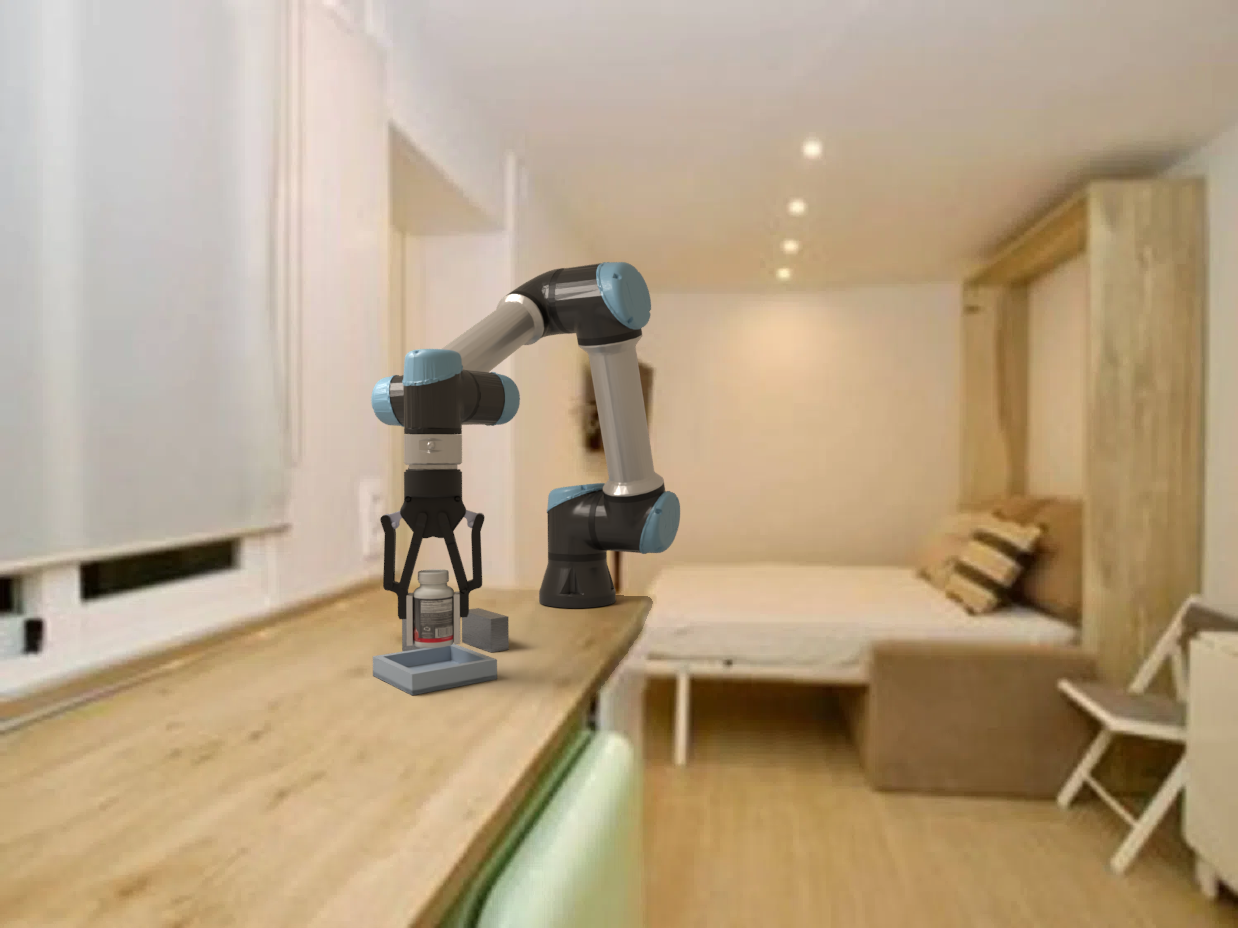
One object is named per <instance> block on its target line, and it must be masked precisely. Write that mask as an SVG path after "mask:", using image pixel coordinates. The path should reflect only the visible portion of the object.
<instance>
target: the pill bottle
mask: <svg viewBox="0 0 1238 928" xmlns="http://www.w3.org/2000/svg"><path fill="white" fill-rule="evenodd" d="M449 572H450V571H449V570H447V569H439V568H435V569H434V568H432V569H422V570H419V571H418V572H417V581H418V584H419V587H417V588H415V589H414V590H413V592H412V593H413V643H414V645H415V646H417V647H420V648H441V647H447V646H450V645H452V644H454V592H455V591H454V588H453V587H451V586H450V585H448V583H449V580H450V576H449Z"/></svg>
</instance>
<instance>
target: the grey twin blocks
mask: <svg viewBox="0 0 1238 928" xmlns="http://www.w3.org/2000/svg"><path fill="white" fill-rule="evenodd" d="M509 632H510V631H509V616H507V615H504V614H501V613H498V612H494V611H490V610H487V609H483V608H480V607H478V608H476V607H475V608H469V614H468V616H467V617H461V642H462V643H464V644H466V645H469V646H471V647H475V648H477V649H480V650H484V651H485V652H489V653H497V652H502V651H509V638H510V637H509V636H510V635H509ZM401 648H402V651H401V652H403V651H410V650H416V649H422V648H420V647H417V646H415V645H414V643H413V646H407V619H401Z"/></svg>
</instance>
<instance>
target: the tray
mask: <svg viewBox="0 0 1238 928" xmlns="http://www.w3.org/2000/svg"><path fill="white" fill-rule="evenodd" d="M372 676H373V677H375V678H377V679H379V680H381V681H382V682H384V683H387V684H389V685H391V686H392V687H394V688H397V689H398V690H400V691H402V692H404V693H407V694H409V695H410V696H417V695H422V694H426V693H427V694H428V693H432V692H437V691H438V692H439V691H444V690H448V689H452V688H459V687H463V686H469V685H473V684H480V683H483V682H489V681H494V680H498V659H497V658H494V657H492V656H489V655H486V654H483V653H480V652H478V651H474V650H472V649H469V648H467V647H464V646H462V645H460V644H454V643H453V644H452V645H450V646H447V647H441V648H422V649H416V650H410V651H403V652H402V651H398V652H391V653H386V654H379V655H373V656H372Z"/></svg>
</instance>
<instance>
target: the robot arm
mask: <svg viewBox="0 0 1238 928" xmlns="http://www.w3.org/2000/svg"><path fill="white" fill-rule="evenodd" d="M648 288H649V287H648V285H647V283H646V281H645V279H644V276H643V275H642V273H641V272H640V271H638V269H637V268H636V267H635V266H634V265H633V264H631V263H629V262H625V261H616V262H615V261H613V262H612V261H611V262H610V261H604V262H603V261H602V262H600V263H599V262H598V263H592V264H586V265H579V266H572V267H566V268H565V267H561V268H555V269H551V270H548V271H546V272H543V273H541V274H539V275H537V276H535V277H534V278H531V279H529V280H528V281H526V282H525V283H523V284H521V285H519V286H518V287H517V288H515V289H513V290H511V291H510V292H509V293H507V294H506V295H504V296H503V297H501V299H500V300H499V301H498V304H497V305H496V309H495V310H494V311H492V312H491V313H489V315H487V316H485V317H484V318H483V319H481V320H480V321H478V322H477V323H475V324H474V325H473V326H471V327H470V328H469V329H467V330H466V331H464V332H463V333H462V334H460V335H458V336H457V337H456V338H455V339H453V340H452V341H450V342H449V343H447V344H446V345H444V346H443V347H441V348H420V349H419V348H418V349H413V350H410V351H408V352H407V353H406V354H405V356H404V364H403V374H402V375H399V374H394V375H391V376H386V377H383V378H381V379H379V380H378V381H377V382H376V383H375V385H374V387H373V389H372V392H371V397H370V398H371V400H370V401H371V403H370V404H371V408H372V409H373V412H374V415H375V417H376V418H377V419H378V420H379V421H380V422H381V423H382V424H385V425H387V426H397V427H402V428H404V429H403V463H404V465H407V466H408V467H407V469H405V471H404V472H403V503H402V505H401V507H400V510H398V511H396V512H391V513H385V514H383V515H382V516H381V517H380V519H379V521H380V523H381V524H380V525H381V527H382V530H383V533H384V545H383V546H384V548H383V549H384V550H383V575H382V577H383V579H382V580H383V581H382V583H383V585H382V587H383V589H384V590H385V591H387V592H392V593H393V594H394V593H395V594H396V596H397V616H398V619H399V620H402V619H407V646H413V592H409V589H410V585H411V580H412V577H413V574H414V570H415V567H416V564H417V563H416V562H417V559H418V556H419V552H420V548H421V545H422V542H423V539H429V538H437V539H443V540H444V543H445V546H446V549H447V553H448V556H449V559H450V563H451V566H452V571H453V573H454V577H455V580H456V585H457V588H458V591H454V643H453V644H456V645H460V644H461V618H462V617H467V616H468V614H469V609H470V593H471V591H474V590H477V589H480V588H482V586H483V565H482V540H481V539H482V537H481V535H482V534H481V531H482V528H483V525H484V522H485V515H484V513H483V512H478V513H477V512H474V511H471V510H468V509H467V508H466V505H465V504H464V502H463V471H461V469H460V468H459V467H458V465H459V466H460V465H461V464H462V463H463V435H462V434H463V433H462V432H463V430H462V429H463V427H462V426H467V425H470V426H471V425H474V426H475V425H483V426H487V427H491V426H493V427H494V426H497V425H498V426H499V425H504V424H505V425H506V424H507V423H509V422H510V421H512V420H513V419H514V418H515V417H516V415H517V413H518V411H519V408H520V405H521V404H520V403H521V401H520V400H521V397H520V396H521V395H520V391H519V388H518V386H517V384H516V383H515V381H514V380H513V379H512V378H510V377H509V376H507V375H504V374H501V373H497V372H495V371H493V369H495V368H496V367H497V366H499V365H500V364H501V363H502V362H504V361H505V360H506V359H507V358H508V357H510V356H511V355H513V354H514V353H515V352H516V351H518V350H519V349H520V348H521V347H522V346H530V345H533V344H536V343H537V342H538V341H539V340H541V339H543V338H545V337H550V336H555V335H567V334H568V335H570V334H571V335H572V334H575V335H576V338H577V339H576V340H577V345H578V347H579V348H580V349H582V350H583V351H584V352H586V353H587V356H588V360H589V365H590V373H591V381H592V385H593V391H594V396H595V397H594V398H595V403H596V407H597V414H598V415H597V416H598V421H599V427H600V433H601V439H602V440H601V441H602V443H603V444H602V445H603V450H604V455H605V456H604V458H605V462H606V463H605V464H606V469H607V474H608V479H607V481H606V482H596V483H586V484H577V485H571V486H563V487H557V488H553V489H551V490H550V492H549V493H548V495H547V496H548V497H547V509H546V514H547V565H546V568H545V571H544V575H543V578H542V581H541V585H540V588H539V591H538V601H539V604H541V605H543V606H546V607H547V606H548V607H553V608H566V609H567V608H568V609H582V608H583V609H585V608H586V609H587V608H597V607H605V606H609V605H612V604H615V603H616V602H617V595H616V594H617V593H616V592H617V591H616V588H615V585H614V581H613V578H612V574H611V571H610V569H609V566H608V562H607V561H608V560H607V559H608V557H607V556H608V553H607V552H608V551H609V552H621V553H622V552H623V553H637V554H638V553H639V554H642V555H646V554H661V553H663V552H666V551H667V550H668V549H669V548H670V547H671V546H672V544H673V543H674V541H675V539H676V536H677V534H678V531H679V526H680V519H681V504H680V499H679V497H678V496H677V495H676V493H675V492H673V491H670V490H666V487H665V486H666V485H665V480H664V478H663V476H662V475H660V474H659V473H657V472H656V471H655V467H654V461H653V455H652V453H653V452H652V449H651V447H652V446H651V441H650V440H651V439H650V433H649V427H648V420H647V415H646V407H645V402H644V400H645V399H644V395H643V387H642V380H641V375H640V368H639V361H638V354H637V344H638V343H639V341H641V339H642V337H643V331H642V329H643V328H644V327H646V326H647V325H648V324H649V321H650V319H651V310H652V301H651V295H650V291H649V289H648ZM401 519H402V520H403V521H405V523H406V525H407V526H408V527H409V528H410V530H411V531H412V532H413V533H412V535H411V538H410V539H411V540H410V545H409V548H408V550H407V554H406V559H405V562H404V565H403V569H402V573H401V576H400V581H397V580H396V551H397V549H396V548H397V531H396V529H398V528H399V527H400V521H401ZM463 519H466V524H467V527H468V528H470V529H471V531H470V532H471V533H470V535H471V536H470V537H471V538H470V539H471V565H472V567H471V569H472V579H469V580H468V577H467V575H466V571H465V568H464V565H463V562H462V558H461V557H462V556H461V554H460V551H459V546H458V544H457V539H456V537H455V530H456V529H457V527H458V525H459V524H460V523H461V521H462V520H463Z"/></svg>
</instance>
